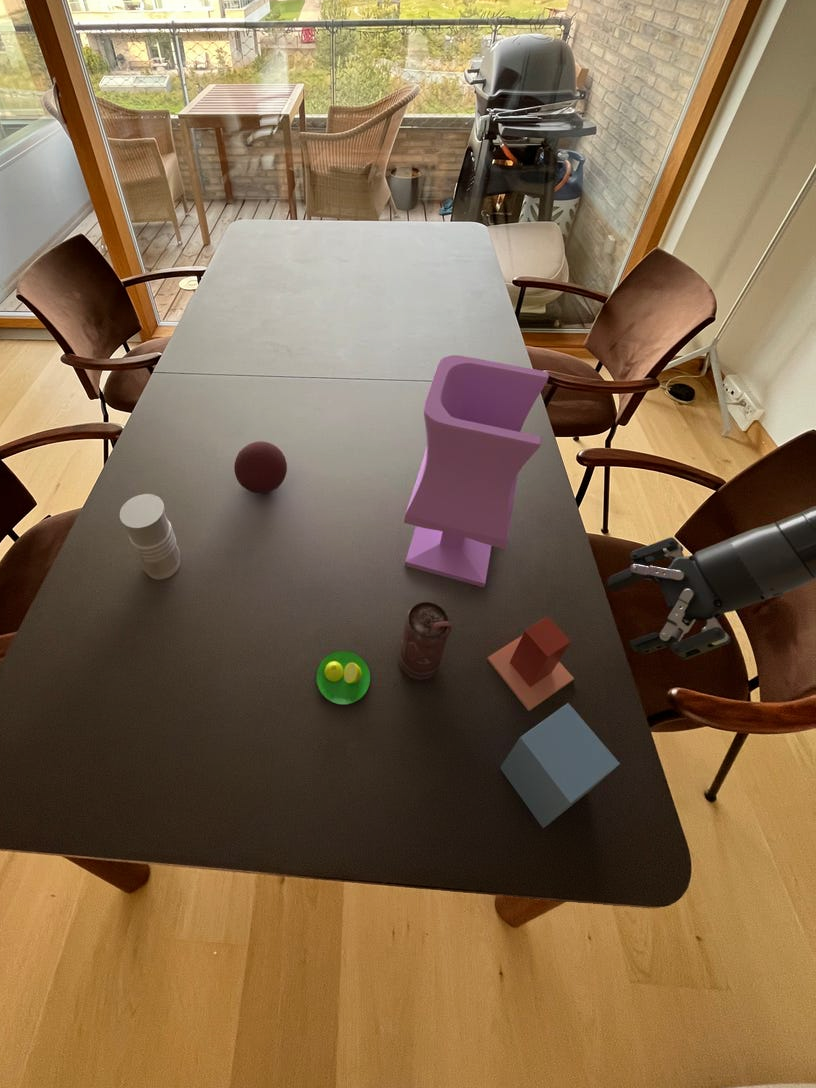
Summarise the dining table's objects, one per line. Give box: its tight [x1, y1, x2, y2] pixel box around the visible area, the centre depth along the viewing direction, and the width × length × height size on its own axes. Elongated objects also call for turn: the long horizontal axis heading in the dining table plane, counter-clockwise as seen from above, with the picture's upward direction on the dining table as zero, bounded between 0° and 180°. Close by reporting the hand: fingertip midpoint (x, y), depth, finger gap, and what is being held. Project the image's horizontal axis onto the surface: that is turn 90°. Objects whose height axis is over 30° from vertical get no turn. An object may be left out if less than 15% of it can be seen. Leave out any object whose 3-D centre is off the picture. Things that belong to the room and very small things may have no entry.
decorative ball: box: [233, 440, 288, 495], centre depth 109 cm, size 10×10×10 cm
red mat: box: [486, 634, 575, 712], centre depth 86 cm, size 9×9×1 cm
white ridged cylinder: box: [119, 493, 181, 580], centre depth 94 cm, size 7×7×15 cm
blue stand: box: [500, 702, 621, 829], centre depth 71 cm, size 8×8×12 cm
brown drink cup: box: [397, 601, 453, 684], centre depth 82 cm, size 6×6×14 cm
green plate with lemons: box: [316, 650, 371, 705], centre depth 84 cm, size 8×8×3 cm
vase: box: [403, 354, 550, 588], centre depth 90 cm, size 16×16×35 cm
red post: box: [510, 616, 572, 687], centre depth 82 cm, size 4×4×10 cm
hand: (620, 616), depth 75 cm, fingers open, 8 cm apart
